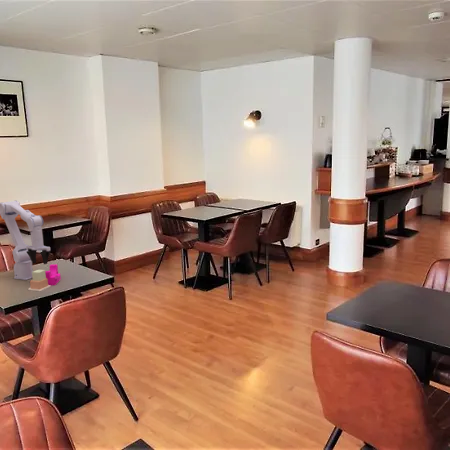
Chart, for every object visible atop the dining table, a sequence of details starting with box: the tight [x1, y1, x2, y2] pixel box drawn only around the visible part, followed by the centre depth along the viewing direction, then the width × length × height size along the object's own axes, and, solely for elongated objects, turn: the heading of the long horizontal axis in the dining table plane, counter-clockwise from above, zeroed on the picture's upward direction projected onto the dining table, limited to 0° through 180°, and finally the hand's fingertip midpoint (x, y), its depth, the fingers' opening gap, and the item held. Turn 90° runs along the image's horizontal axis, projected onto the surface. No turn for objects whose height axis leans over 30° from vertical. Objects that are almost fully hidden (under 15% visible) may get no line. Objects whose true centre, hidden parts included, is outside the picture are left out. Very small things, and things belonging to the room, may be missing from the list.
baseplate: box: [27, 285, 52, 292], centre depth 237 cm, size 8×8×1 cm
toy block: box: [45, 263, 62, 286], centre depth 248 cm, size 15×6×8 cm, turn 4°
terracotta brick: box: [29, 278, 48, 289], centre depth 237 cm, size 6×6×4 cm
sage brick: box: [32, 269, 46, 281], centre depth 236 cm, size 4×4×4 cm
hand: (39, 263), depth 245 cm, fingers open, 7 cm apart
